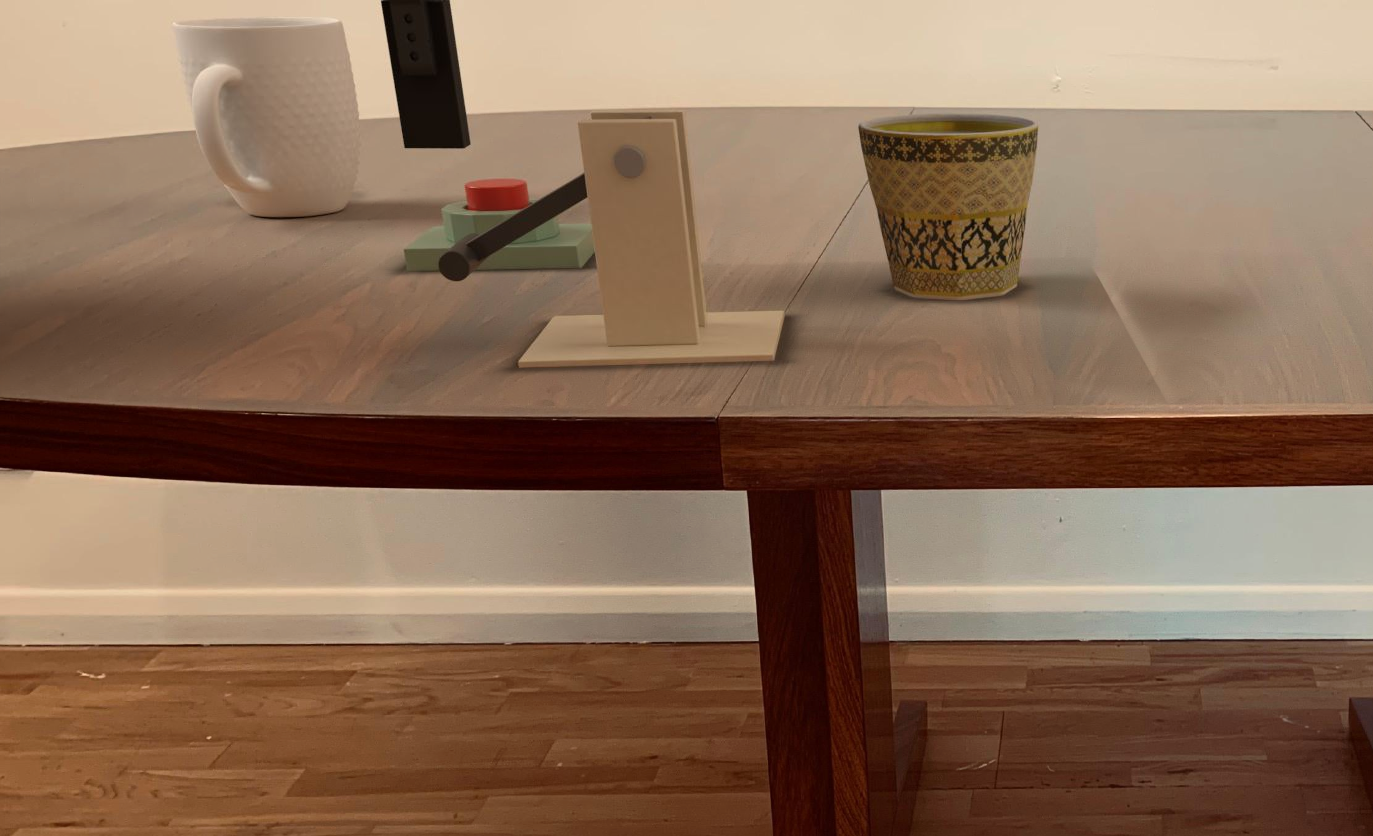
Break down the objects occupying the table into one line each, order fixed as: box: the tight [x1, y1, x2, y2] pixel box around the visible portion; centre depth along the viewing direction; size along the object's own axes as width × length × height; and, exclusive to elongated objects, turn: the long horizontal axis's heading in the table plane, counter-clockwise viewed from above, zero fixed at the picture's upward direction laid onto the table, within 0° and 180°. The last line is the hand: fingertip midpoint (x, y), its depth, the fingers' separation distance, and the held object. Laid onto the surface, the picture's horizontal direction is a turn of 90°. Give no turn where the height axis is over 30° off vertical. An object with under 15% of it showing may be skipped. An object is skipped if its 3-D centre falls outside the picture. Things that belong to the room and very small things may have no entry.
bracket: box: [517, 108, 786, 369], centre depth 86 cm, size 12×10×12 cm
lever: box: [438, 116, 652, 282], centre depth 85 cm, size 12×5×2 cm, turn 99°
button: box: [464, 178, 530, 211], centre depth 107 cm, size 4×4×2 cm
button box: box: [403, 197, 595, 272], centre depth 108 cm, size 10×8×4 cm
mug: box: [172, 16, 361, 218], centre depth 124 cm, size 15×11×13 cm
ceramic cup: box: [858, 112, 1039, 301], centre depth 100 cm, size 13×10×10 cm
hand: (437, 146), depth 83 cm, fingers closed
